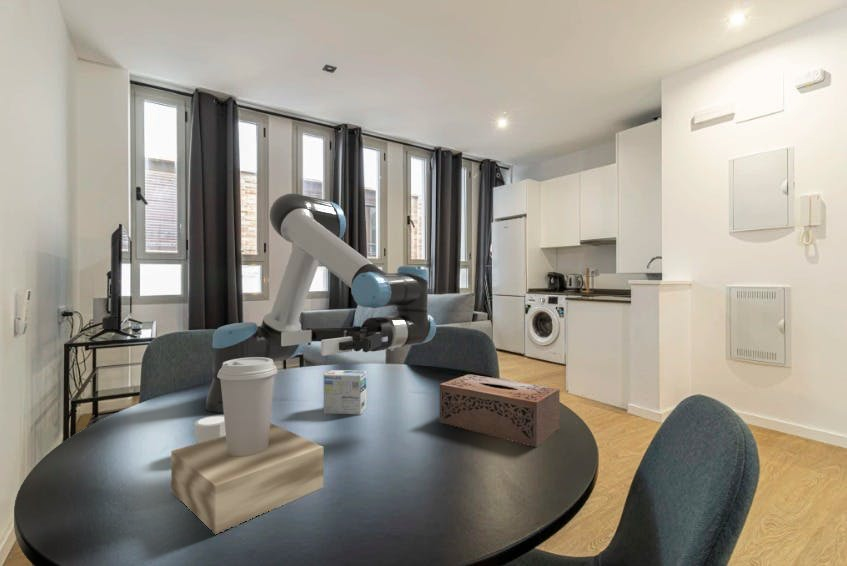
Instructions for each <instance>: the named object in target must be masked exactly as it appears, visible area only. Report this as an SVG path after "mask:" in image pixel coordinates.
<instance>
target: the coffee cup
mask: <svg viewBox="0 0 847 566" xmlns="http://www.w3.org/2000/svg"><path fill="white" fill-rule="evenodd" d="M278 372H279V371H278V368H277V365H276V364H275V363H274V362H273V360H272V359H270V358H264V357H250V358H239V359H233V360H228V361H225V362H224V363H223V364H222V368H221V369H220V370H219V372H218V375H217V377H218V378H220V380H221V390H222V400H223V411H224V413H223V415H224V421H225V432H226V443H227V453H228V454H229V455H232V456H249V455H254V454H257V453H260V452H262V451H264V450H266V449H267V448H268V443H269V432H270V423H271V420H272V408H273V397H274V389H275V386H274V385H275V378H276V377H275V376H276V375H277V374H278Z"/></svg>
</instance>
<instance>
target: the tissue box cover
mask: <svg viewBox="0 0 847 566" xmlns="http://www.w3.org/2000/svg"><path fill="white" fill-rule="evenodd" d="M560 394H561V393H560V388H558V387H550V386H544V385H539V384H532V383H526V382H520V381H513V380H507V379H501V378H496V377H495V378H494V377H489V376H481V375H476V374H464V375H463V376H459V377H457V378H453V379H451V380H448V381H445V382H442V383H440V384H439V423H440V422H441V424H444V423H446V424H445V425H448V424H450V425H449V426H452V425H454V426H453V427H456V426H458V427H457V428H460V427H462V428H461V429H463V428H466V429H465V430H467V429H470V430H469V431H471V430H474V431H473V432H475V431H477V432H476V433H479V432H481V433H480V434H483V433H485V434H484V435H487V434H488V436H491V435H493V436H492V437H494V436H496V438H498V437H500V438H499V439H502V438H505V439H504V440H506V439H509V440H508V441H510V440H513V441H512V442H514V441H517V442H516V443H518V442H521V443H520V444H522V443H525V444H529V445H533V446H538V445H539V444H540V443H541V442H543V441H544V440H545V439H546V438H547V437H548V436H550V435H551V434H552V433H553V432H554V431H555V430H556V429H558V428H559V429H560ZM559 429H558V430H559ZM553 434H554V433H553ZM553 434H552V435H553ZM552 435H551V436H552ZM551 436H550V437H551ZM547 439H548V438H547ZM547 439H546V440H547ZM546 440H545V441H546ZM545 441H544V442H545ZM544 442H543V443H544ZM525 444H524V445H525ZM541 444H542V443H541ZM541 444H540V445H541ZM529 445H528V446H529ZM540 445H539V446H540ZM533 446H532V447H533ZM539 446H538V447H539Z"/></svg>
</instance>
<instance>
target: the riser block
mask: <svg viewBox="0 0 847 566" xmlns="http://www.w3.org/2000/svg"><path fill="white" fill-rule="evenodd" d="M324 451H325V450H324V446H322V445H320V444H318V443H316V442H314V441H311V440H309V439H307V438H304V437H303V436H301V435H299V434H296V433H294V432H291V431H289V430H288V429H285V428H283V427H281V426H279V425H277V424H274V423H271V422H270V432H269V443H268V448H267V449H266V450H264V451H262V452H260V453H257V454H254V455H249V456H232V455H229V454H228V453H227V443H226V436H223V437H219V438H216V439H212V440H209V441H205V442H201V443H198V444H196V443H195V444H194V443H193V444H191V445H188V446H184V447H180V448H177V449H174V450H173V449H172V450H171V461H170V462H171V464H170V465H171V466H170V467H171V472H170V473H171V474H170V475H171V476H170V478H171V483H170V484H171V487H170V489H171V490H170V491H171V493H172V494H173V493H174V494H173V495H174V496H175V497H176V498H177V499H178V501H180V502H181V501H182V502H183V503H184V504H185V505H186V506H187V507H188V508H189V509H190V510H191V511H192V512H193V513H194V514H195V515H196V516H197V517H198V518H199V519H200V520H201V521H203V522H204V523H205V524H206V525H207V526H208V527H209V528H210V529H211V530H212V531H213V532H214V533H215V534H217V533H219V532H222V531H224V530H226V529H229V528H231V527H233V526H236V525H238V524H240V523H242V522H244V521H246V520H249V519H251V520H253V519H252V518H254V517H255V516H258V515H260V514H263V513H265V514H266V512H267V513H269V512H271V511H274V510H276V509H277V508H280V507H283V506H284V505H287V504H289V503H291V502H293V501H295V500H298V499H301V498H303V497H305V496H307V495H309V494H311V493H314V492H315V491H318V490H320V489H322V488H324V479H325V478H324V475H325V474H324V468H325V467H324V463H325V462H324ZM182 502H181V503H182ZM183 503H182V504H183ZM184 504H183V505H184ZM185 505H184V506H185ZM282 505H283V506H282ZM186 506H185V507H186ZM187 507H186V508H187ZM188 508H187V509H188ZM275 508H276V509H275ZM189 509H188V510H189ZM273 509H274V510H273ZM190 510H189V511H190ZM191 511H190V512H191ZM268 511H269V512H268ZM192 512H191V513H192ZM193 513H192V514H193ZM194 514H193V515H194ZM195 515H194V516H195ZM263 515H264V514H263ZM196 516H195V517H196ZM260 516H261V515H260ZM197 517H196V518H197ZM258 517H259V516H258ZM198 518H197V519H198ZM199 519H198V520H199ZM254 519H255V518H254ZM200 520H199V521H200ZM201 521H200V522H201ZM249 521H250V520H249ZM240 525H241V524H240ZM238 526H239V525H238ZM236 527H237V526H236ZM231 529H232V528H231ZM229 530H230V529H229Z"/></svg>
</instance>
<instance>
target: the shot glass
mask: <svg viewBox="0 0 847 566" xmlns="http://www.w3.org/2000/svg"><path fill="white" fill-rule="evenodd" d="M193 426H194V427H193V428H194V436H195V437H194V438H195V444H198V443H201V442H205V441H209V440H212V439H216V438H219V437H223V436H226V432H225V421H224V414H222V415H221V414H219V415H211V416H205V417H202V418H199V419H196V420H195V421H194V423H193Z"/></svg>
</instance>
